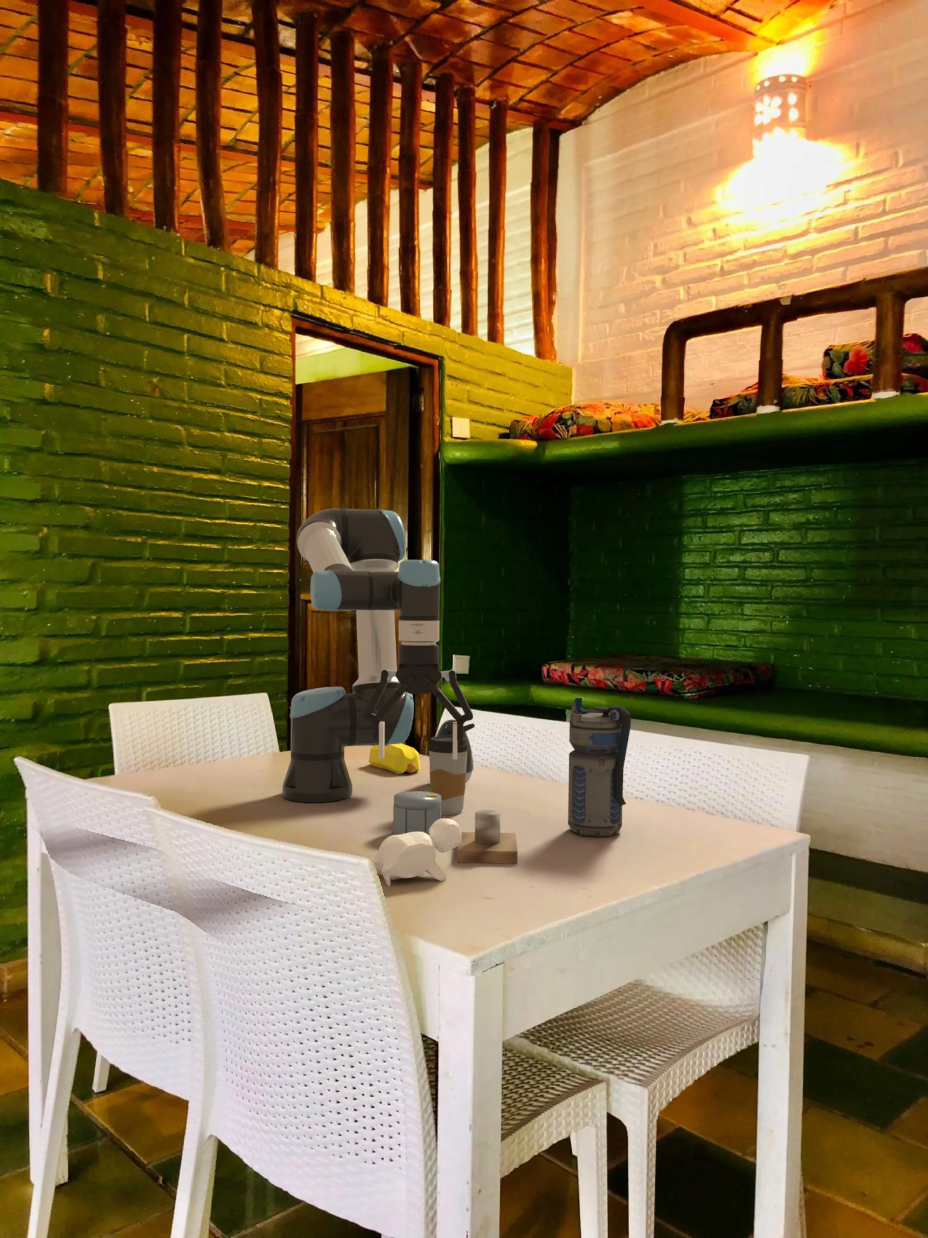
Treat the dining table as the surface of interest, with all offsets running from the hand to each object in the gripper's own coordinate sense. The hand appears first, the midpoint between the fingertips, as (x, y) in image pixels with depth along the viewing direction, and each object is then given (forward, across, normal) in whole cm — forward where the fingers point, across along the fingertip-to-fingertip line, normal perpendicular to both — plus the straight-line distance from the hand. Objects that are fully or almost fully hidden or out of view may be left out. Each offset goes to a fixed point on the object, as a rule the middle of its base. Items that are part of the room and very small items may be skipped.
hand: (418, 758), depth 179 cm
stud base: (+14, +13, -12) cm, 23 cm away
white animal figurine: (+15, +2, -25) cm, 29 cm away
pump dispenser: (+14, +5, +44) cm, 47 cm away
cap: (+14, 0, 0) cm, 14 cm away
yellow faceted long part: (+14, -10, +62) cm, 65 cm away
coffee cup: (+14, +5, +18) cm, 24 cm away
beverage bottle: (+14, +34, +3) cm, 37 cm away
